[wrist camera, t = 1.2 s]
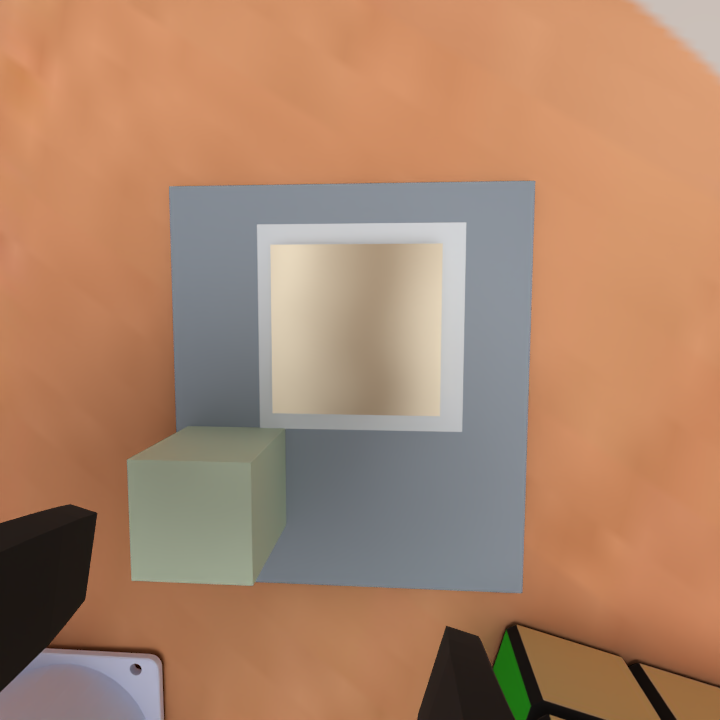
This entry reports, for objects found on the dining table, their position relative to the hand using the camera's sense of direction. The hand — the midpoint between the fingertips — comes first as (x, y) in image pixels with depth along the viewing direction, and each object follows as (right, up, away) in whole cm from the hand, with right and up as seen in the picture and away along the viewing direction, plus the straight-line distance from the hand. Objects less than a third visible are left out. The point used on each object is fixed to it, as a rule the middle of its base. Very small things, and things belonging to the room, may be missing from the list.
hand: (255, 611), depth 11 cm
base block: (+2, +6, +11) cm, 13 cm away
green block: (-3, 0, +12) cm, 12 cm away
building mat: (+2, +4, +12) cm, 12 cm away
